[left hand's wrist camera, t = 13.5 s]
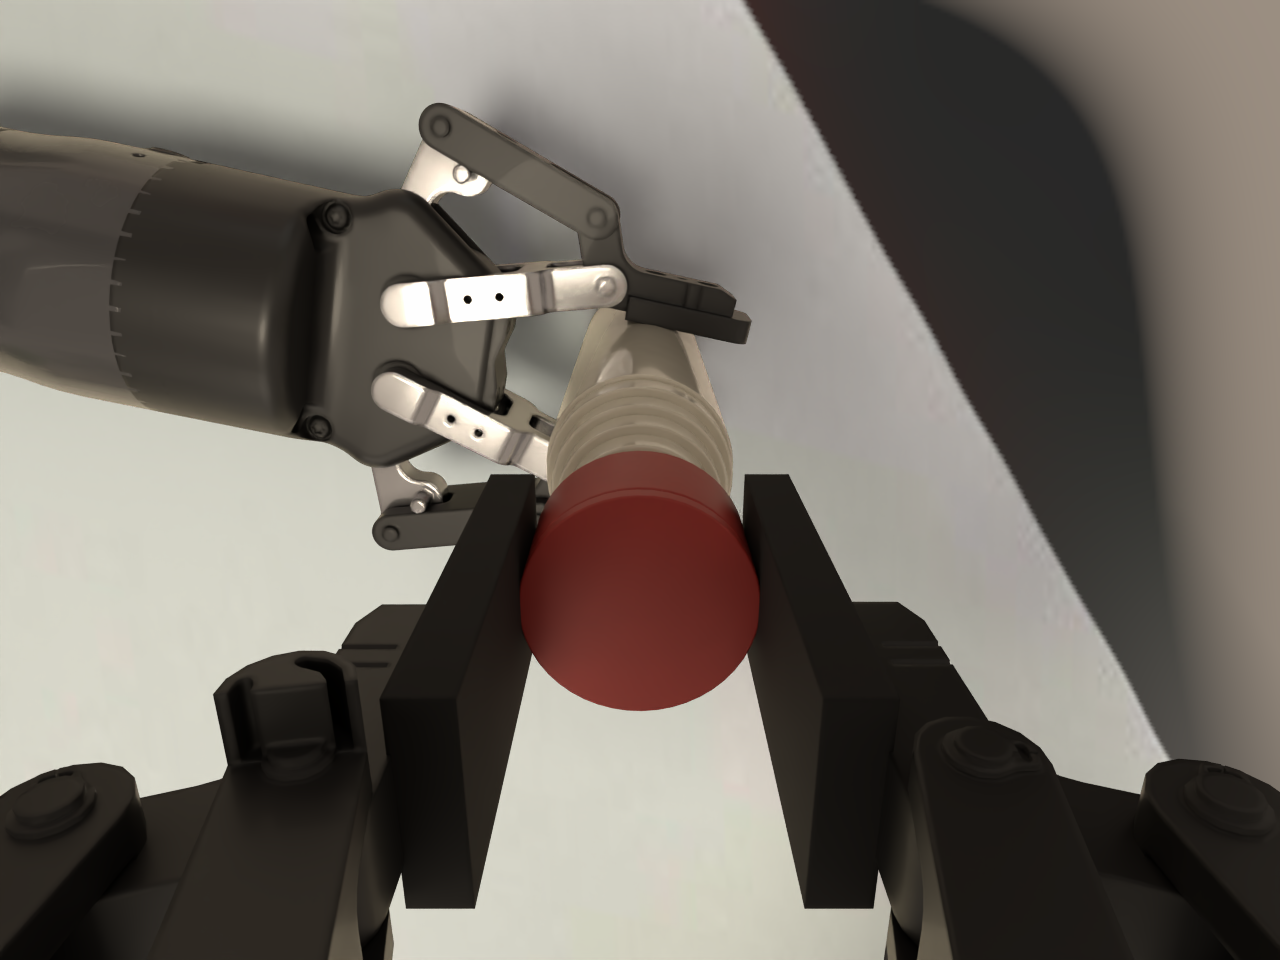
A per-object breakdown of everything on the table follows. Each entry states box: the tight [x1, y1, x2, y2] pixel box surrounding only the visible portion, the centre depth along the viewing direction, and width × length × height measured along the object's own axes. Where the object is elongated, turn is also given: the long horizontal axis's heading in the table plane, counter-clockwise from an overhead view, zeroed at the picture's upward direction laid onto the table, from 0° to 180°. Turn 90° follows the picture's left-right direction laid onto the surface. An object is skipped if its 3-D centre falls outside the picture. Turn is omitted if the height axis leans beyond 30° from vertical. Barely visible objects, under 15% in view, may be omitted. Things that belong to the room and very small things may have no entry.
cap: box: [520, 451, 760, 711], centre depth 14 cm, size 4×4×2 cm
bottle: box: [547, 308, 733, 496], centre depth 23 cm, size 4×4×20 cm
